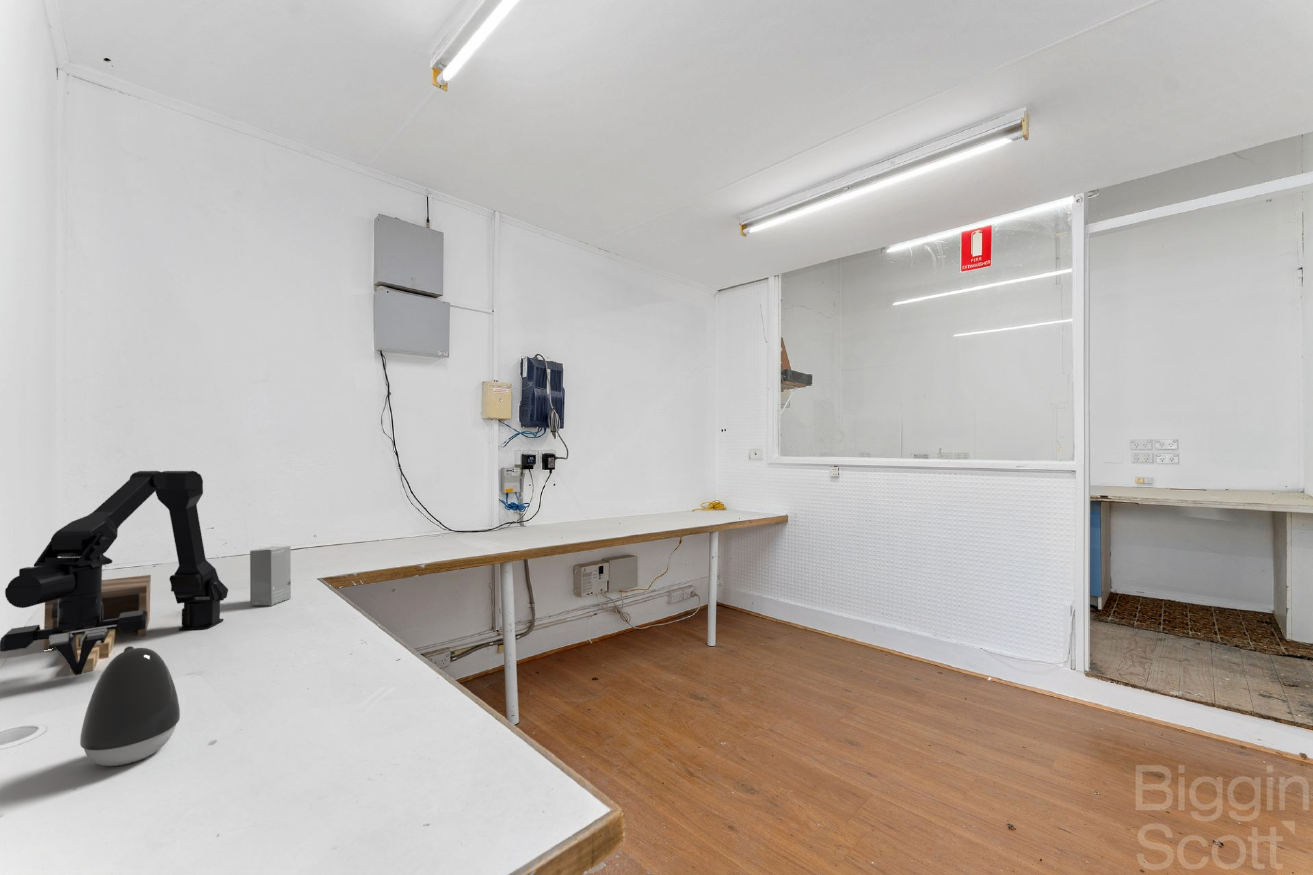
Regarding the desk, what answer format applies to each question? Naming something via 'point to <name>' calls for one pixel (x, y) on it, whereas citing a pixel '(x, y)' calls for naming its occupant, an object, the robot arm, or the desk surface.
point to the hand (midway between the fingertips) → (78, 674)
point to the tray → (96, 650)
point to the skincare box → (270, 575)
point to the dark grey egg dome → (130, 709)
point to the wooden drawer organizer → (115, 600)
